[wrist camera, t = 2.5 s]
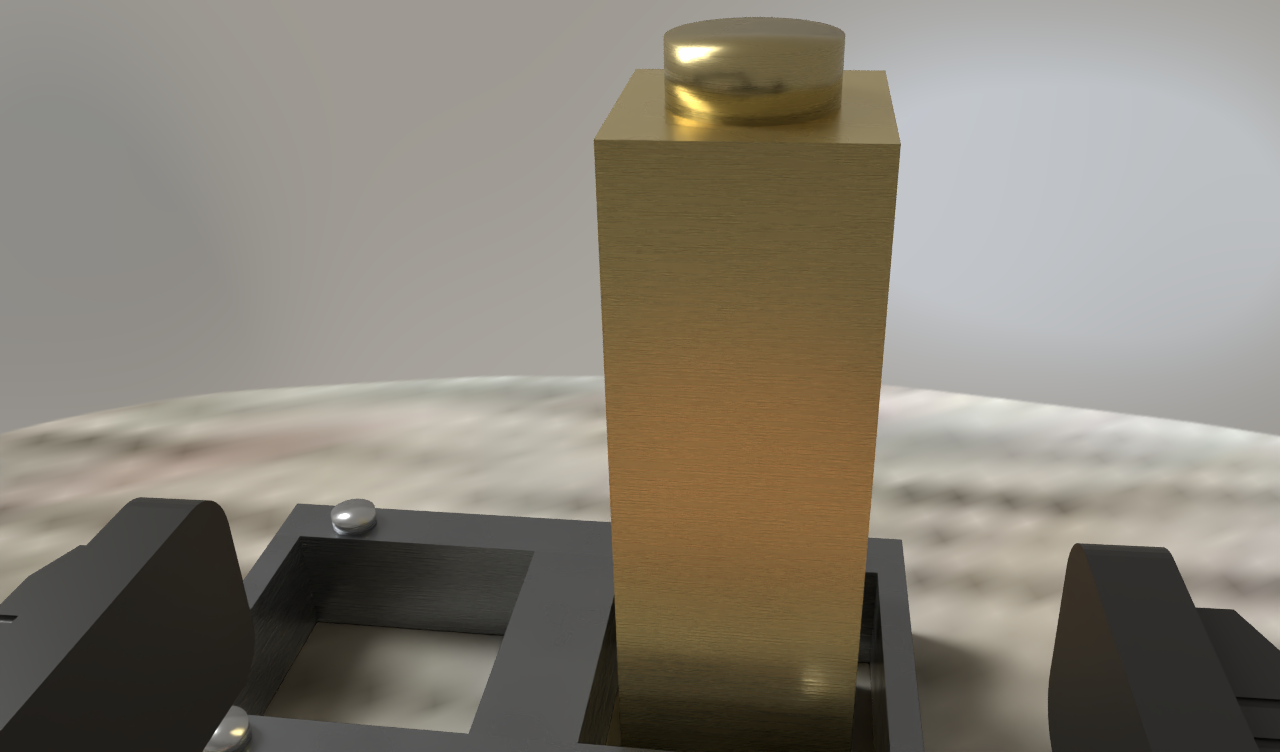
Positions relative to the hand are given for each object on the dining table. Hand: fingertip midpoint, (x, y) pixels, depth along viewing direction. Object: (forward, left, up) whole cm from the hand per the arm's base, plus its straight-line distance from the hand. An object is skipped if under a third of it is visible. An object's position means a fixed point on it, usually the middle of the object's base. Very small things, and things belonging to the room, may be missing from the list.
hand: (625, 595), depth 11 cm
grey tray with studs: (-4, +12, -14) cm, 19 cm away
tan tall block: (0, +12, -14) cm, 19 cm away
